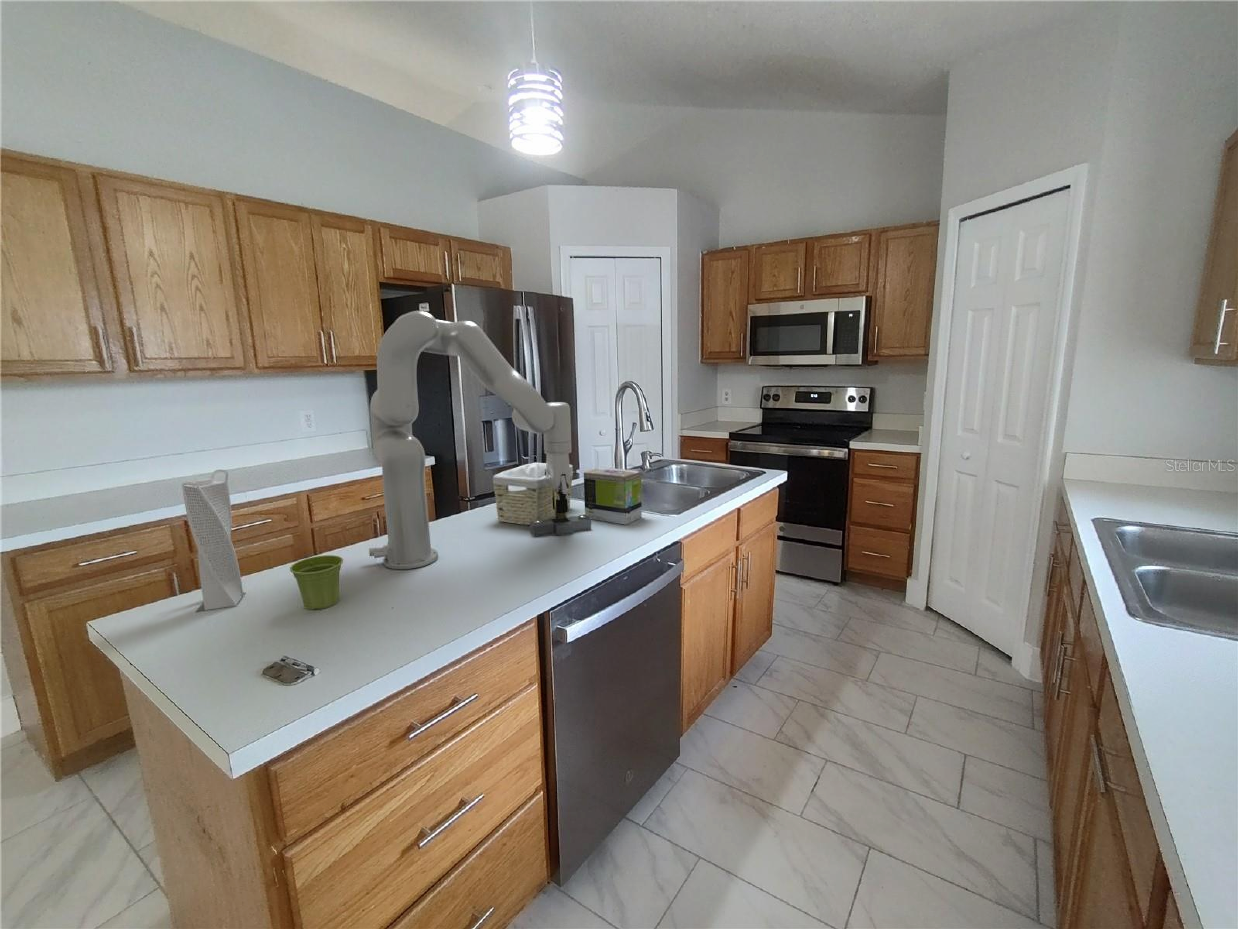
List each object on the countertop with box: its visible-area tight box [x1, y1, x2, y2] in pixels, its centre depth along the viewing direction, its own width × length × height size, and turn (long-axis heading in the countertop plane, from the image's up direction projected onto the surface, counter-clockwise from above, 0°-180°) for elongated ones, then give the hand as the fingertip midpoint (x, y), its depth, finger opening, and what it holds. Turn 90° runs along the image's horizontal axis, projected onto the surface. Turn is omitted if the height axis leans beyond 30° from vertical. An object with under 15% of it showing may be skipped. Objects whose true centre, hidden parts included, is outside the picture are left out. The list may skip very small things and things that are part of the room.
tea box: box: [583, 466, 643, 525], centre depth 167 cm, size 15×10×15 cm, turn 58°
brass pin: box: [554, 490, 567, 519], centre depth 156 cm, size 3×3×8 cm
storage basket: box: [492, 462, 574, 526], centre depth 172 cm, size 24×16×15 cm
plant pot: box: [289, 554, 344, 611], centre depth 112 cm, size 9×9×9 cm
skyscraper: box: [181, 469, 246, 613], centre depth 111 cm, size 8×8×28 cm
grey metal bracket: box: [529, 514, 592, 537], centre depth 157 cm, size 17×9×4 cm, turn 110°
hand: (560, 510), depth 156 cm, fingers closed on brass pin, 3 cm apart
